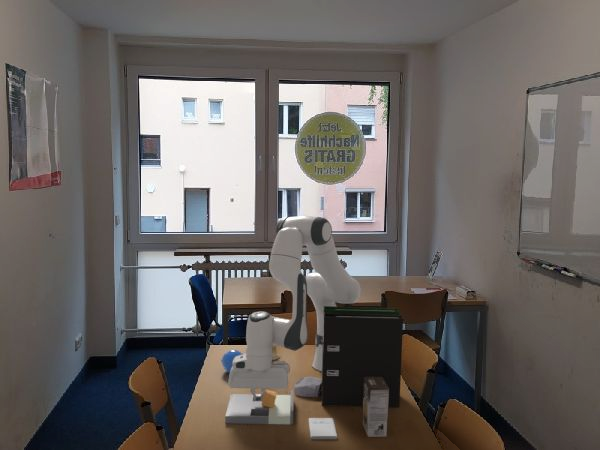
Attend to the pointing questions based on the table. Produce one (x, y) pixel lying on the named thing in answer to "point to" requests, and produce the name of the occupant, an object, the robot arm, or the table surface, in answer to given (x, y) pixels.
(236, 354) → the blue ball
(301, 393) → the stone block
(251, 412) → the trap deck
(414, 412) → the table surface
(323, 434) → the external hard drive
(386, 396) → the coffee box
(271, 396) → the block
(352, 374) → the binder
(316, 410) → the table surface
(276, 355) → the hand bell
